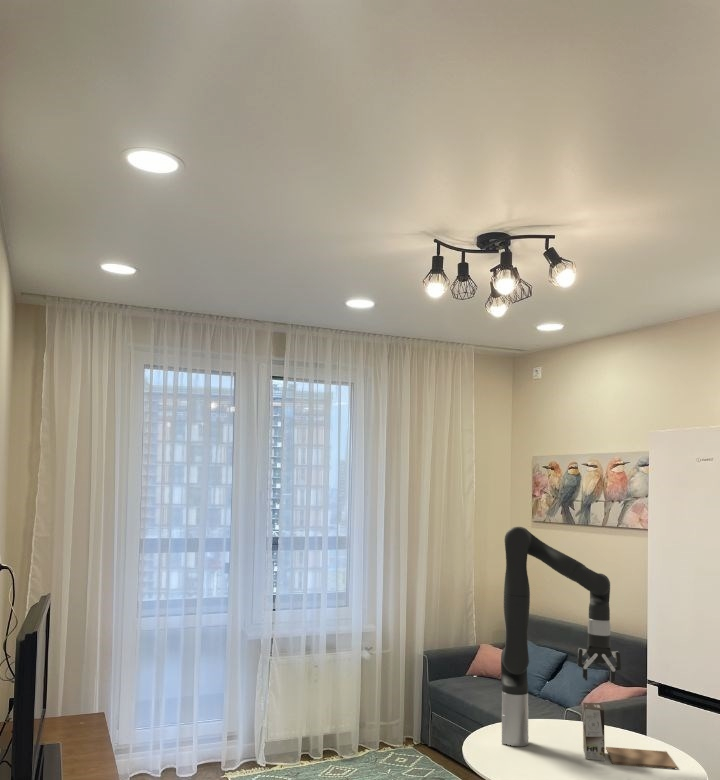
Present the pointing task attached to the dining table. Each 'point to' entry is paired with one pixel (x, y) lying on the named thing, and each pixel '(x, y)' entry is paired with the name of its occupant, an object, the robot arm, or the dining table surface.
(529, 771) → the dining table surface
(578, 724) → the dining table surface
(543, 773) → the dining table surface
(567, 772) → the dining table surface
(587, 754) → the coffee box
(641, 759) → the walnut board
